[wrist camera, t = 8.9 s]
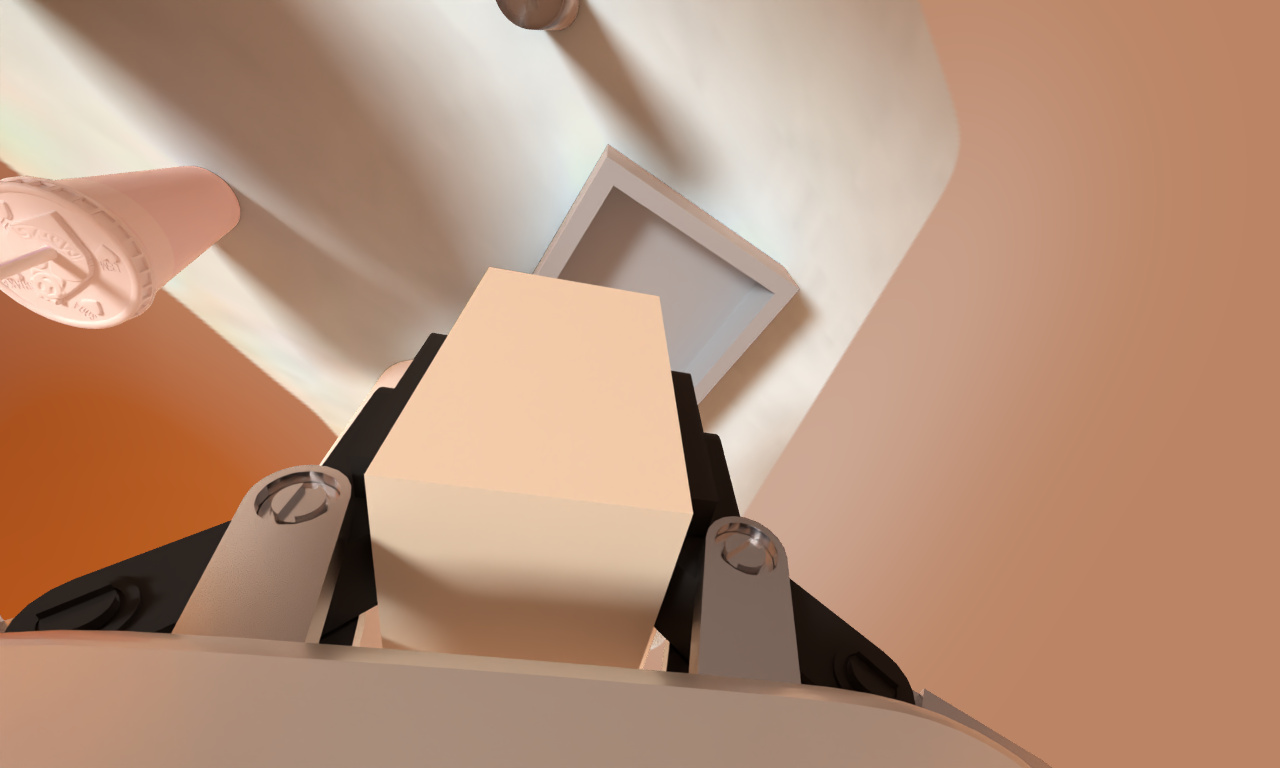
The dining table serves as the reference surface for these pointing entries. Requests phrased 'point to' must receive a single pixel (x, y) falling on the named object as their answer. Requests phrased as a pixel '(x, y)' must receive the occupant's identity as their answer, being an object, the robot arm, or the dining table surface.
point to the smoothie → (106, 239)
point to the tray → (670, 266)
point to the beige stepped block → (534, 481)
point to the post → (540, 13)
